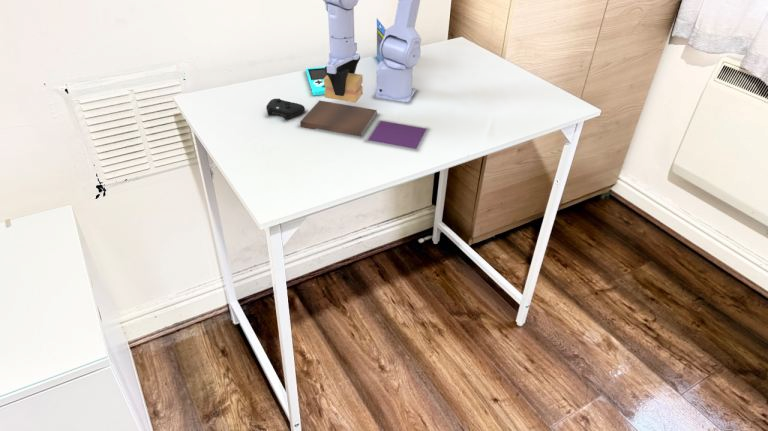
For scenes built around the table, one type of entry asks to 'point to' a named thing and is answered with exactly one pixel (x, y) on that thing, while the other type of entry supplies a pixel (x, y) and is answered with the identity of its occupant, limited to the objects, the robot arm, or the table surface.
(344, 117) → the cutting board
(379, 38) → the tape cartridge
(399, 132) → the felt cloth
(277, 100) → the gaming controller
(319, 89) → the handheld game console
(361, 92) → the sandwich
